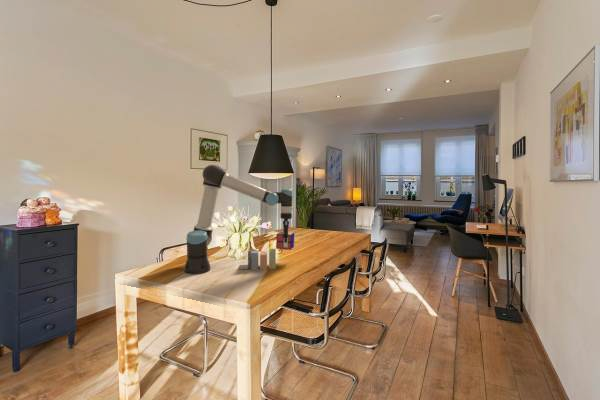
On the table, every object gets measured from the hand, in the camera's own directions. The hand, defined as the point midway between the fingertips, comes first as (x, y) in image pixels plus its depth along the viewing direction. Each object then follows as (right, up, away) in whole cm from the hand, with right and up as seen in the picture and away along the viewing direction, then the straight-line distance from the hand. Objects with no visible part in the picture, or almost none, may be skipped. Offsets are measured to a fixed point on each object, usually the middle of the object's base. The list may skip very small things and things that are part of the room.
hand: (285, 245), depth 214 cm
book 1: (-19, -12, -11) cm, 25 cm away
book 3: (-8, -12, -11) cm, 18 cm away
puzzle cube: (0, -2, 0) cm, 2 cm away
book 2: (-13, -12, -11) cm, 21 cm away
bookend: (-25, -12, -12) cm, 30 cm away
